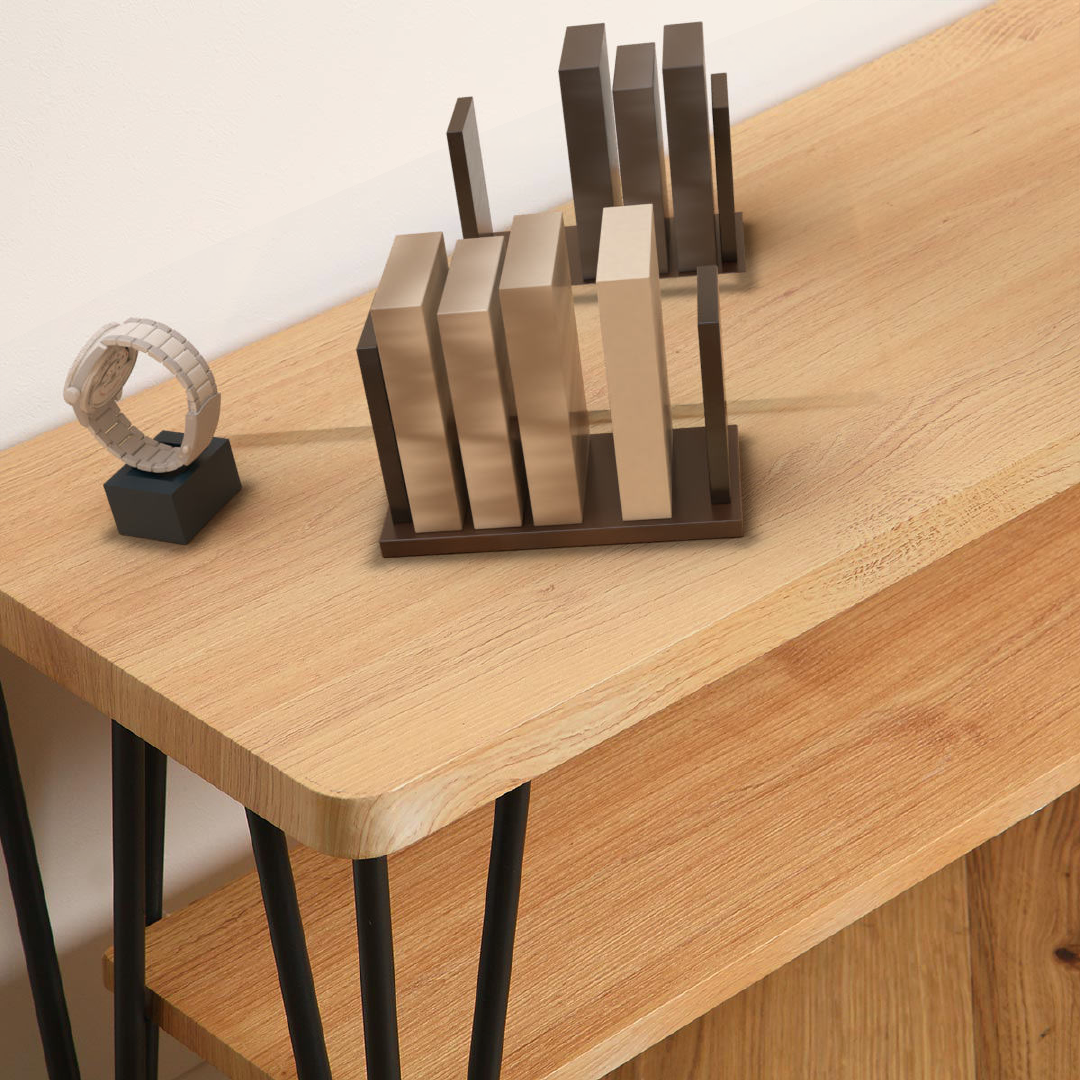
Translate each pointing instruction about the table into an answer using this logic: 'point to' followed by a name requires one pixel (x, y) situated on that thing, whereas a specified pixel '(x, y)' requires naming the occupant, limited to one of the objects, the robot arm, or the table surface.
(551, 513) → the brown rack
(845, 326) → the table surface
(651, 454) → the beige book
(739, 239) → the grey rack
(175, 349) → the watch
